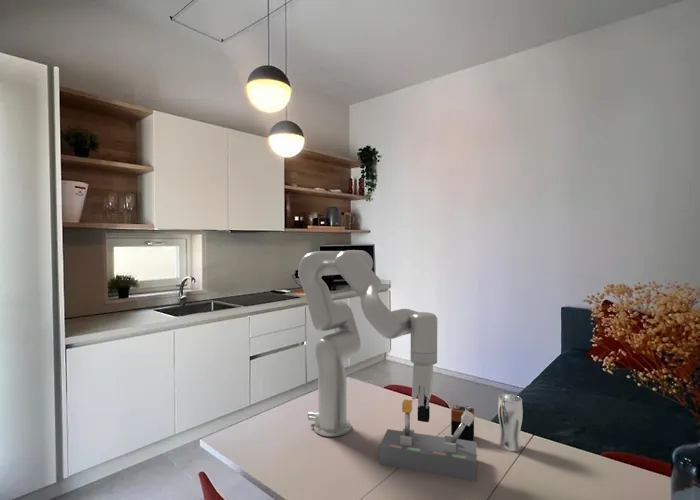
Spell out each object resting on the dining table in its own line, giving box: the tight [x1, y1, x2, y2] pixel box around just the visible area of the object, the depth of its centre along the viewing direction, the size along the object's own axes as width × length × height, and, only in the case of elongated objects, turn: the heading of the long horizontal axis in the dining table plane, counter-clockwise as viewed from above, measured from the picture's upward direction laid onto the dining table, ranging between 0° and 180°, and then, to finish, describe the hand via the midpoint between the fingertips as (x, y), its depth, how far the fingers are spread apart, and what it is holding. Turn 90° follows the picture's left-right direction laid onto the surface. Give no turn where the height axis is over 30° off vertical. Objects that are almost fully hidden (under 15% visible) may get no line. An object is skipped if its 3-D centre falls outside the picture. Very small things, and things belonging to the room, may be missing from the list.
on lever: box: [449, 410, 475, 443], centre depth 108 cm, size 2×3×11 cm
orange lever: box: [401, 399, 413, 437], centre depth 112 cm, size 2×3×11 cm
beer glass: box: [497, 393, 524, 453], centre depth 119 cm, size 7×7×15 cm
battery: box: [450, 404, 475, 441], centre depth 125 cm, size 4×7×10 cm, turn 69°
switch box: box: [378, 427, 478, 482], centre depth 111 cm, size 26×11×7 cm, turn 73°
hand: (423, 420), depth 111 cm, fingers closed
